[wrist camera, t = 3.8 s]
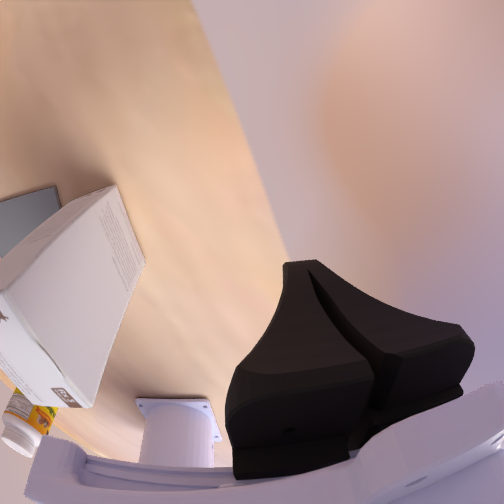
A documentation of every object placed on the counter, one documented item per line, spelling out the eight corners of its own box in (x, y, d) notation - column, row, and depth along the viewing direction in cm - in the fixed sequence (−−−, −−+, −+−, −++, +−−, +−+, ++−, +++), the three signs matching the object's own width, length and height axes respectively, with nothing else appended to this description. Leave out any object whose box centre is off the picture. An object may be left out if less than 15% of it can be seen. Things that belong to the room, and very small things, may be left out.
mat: (90, 296, 21) (88, 298, 20) (20, 298, 21) (18, 300, 20) (55, 185, 17) (53, 187, 16) (-14, 206, 16) (-16, 207, 16)
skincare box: (68, 201, 17) (-52, 302, 6) (121, 180, 17) (-3, 284, 6) (101, 276, 20) (27, 407, 9) (153, 264, 20) (93, 413, 9)
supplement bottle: (66, 401, 28) (43, 467, 19) (30, 384, 27) (3, 445, 17) (62, 377, 25) (32, 450, 16) (23, 358, 24) (-12, 425, 15)
